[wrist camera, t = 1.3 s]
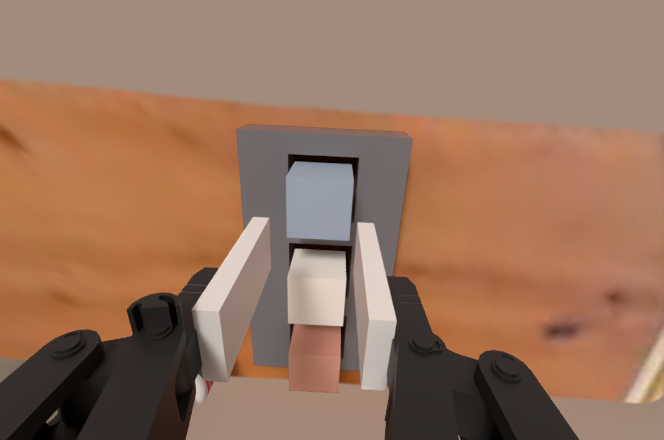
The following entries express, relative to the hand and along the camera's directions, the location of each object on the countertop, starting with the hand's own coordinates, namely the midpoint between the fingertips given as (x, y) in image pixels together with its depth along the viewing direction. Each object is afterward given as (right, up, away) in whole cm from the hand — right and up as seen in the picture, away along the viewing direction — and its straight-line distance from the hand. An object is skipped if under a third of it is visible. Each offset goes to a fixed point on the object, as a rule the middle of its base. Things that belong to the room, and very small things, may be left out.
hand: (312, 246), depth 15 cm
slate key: (0, +3, +8) cm, 9 cm away
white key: (0, -3, +11) cm, 11 cm away
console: (0, -2, +13) cm, 14 cm away
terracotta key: (0, -9, +13) cm, 16 cm away
